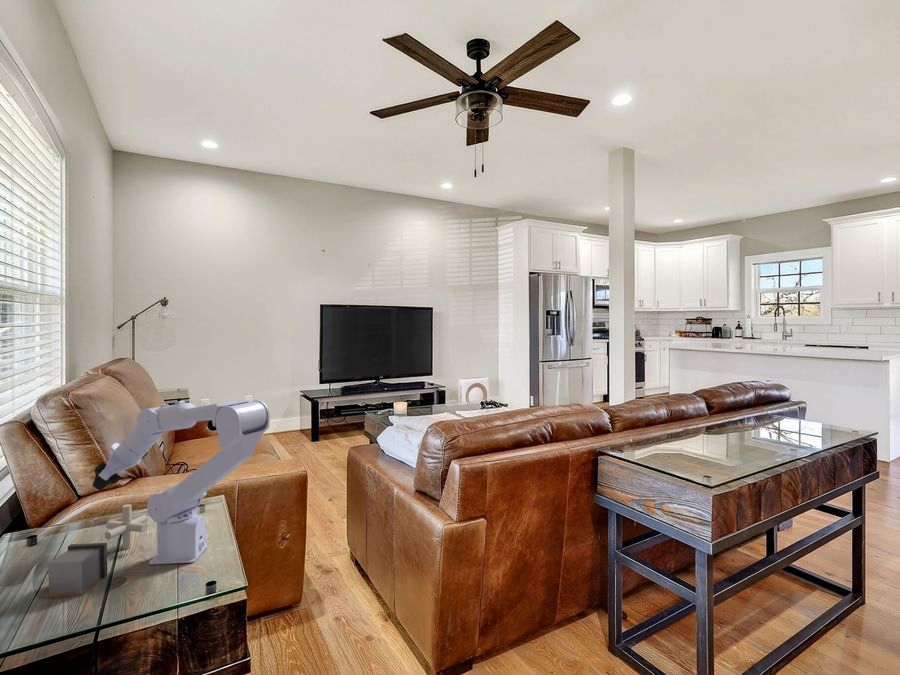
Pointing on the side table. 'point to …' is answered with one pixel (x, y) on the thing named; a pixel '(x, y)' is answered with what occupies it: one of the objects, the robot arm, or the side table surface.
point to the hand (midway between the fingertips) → (108, 477)
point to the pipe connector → (126, 526)
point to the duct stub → (77, 569)
